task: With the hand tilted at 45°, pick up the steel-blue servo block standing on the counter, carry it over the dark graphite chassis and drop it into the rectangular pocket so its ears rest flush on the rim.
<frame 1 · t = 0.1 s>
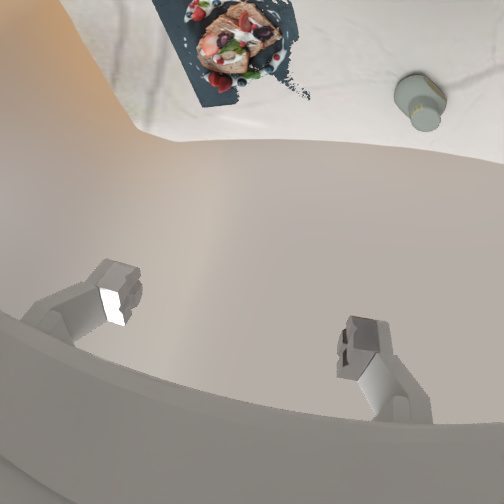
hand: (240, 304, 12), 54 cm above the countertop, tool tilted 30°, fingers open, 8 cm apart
air freshener: (418, 90, 52), on the countertop
platter: (233, 36, 53), on the countertop
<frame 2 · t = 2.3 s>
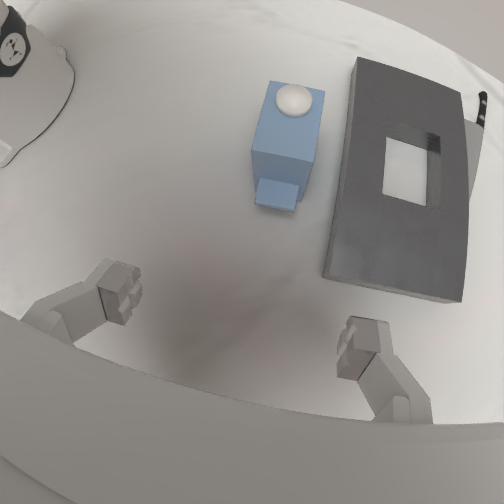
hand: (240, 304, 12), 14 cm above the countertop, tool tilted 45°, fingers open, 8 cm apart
chassis: (401, 175, 27), on the countertop
chef's knife: (468, 141, 28), on the countertop
servo: (284, 166, 28), on the countertop
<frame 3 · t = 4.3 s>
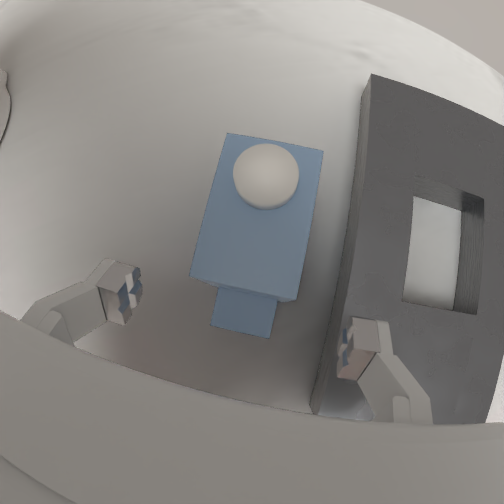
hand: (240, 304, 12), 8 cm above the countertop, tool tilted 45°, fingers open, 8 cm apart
chassis: (427, 253, 19), on the countertop
servo: (262, 247, 20), on the countertop
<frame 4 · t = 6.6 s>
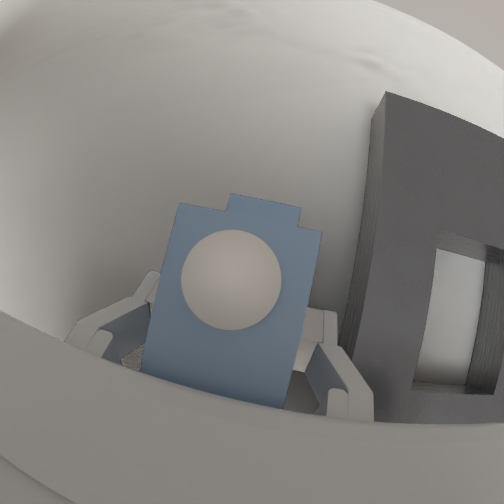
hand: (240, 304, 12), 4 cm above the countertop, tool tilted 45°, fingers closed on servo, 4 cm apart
chassis: (443, 317, 16), on the countertop
servo: (244, 317, 16), on the countertop, touching gripper
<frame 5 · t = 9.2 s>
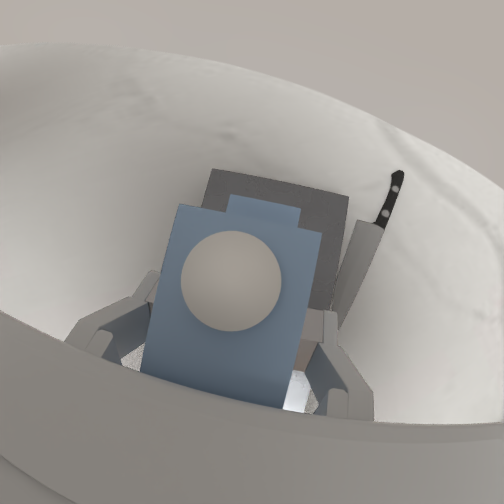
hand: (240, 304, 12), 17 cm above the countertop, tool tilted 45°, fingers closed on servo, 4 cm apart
chassis: (253, 310, 28), on the countertop
chef's knife: (358, 249, 29), on the countertop
servo: (244, 317, 16), point 12 cm above the countertop, touching gripper
when the fingers open (5 cm above the countertop, at t = 12.2 s): servo stays where it is, resting on chassis.
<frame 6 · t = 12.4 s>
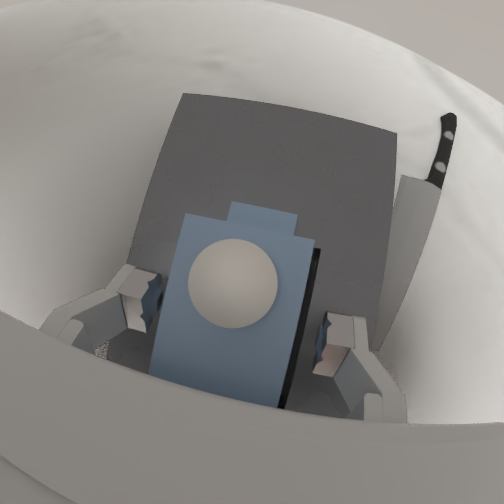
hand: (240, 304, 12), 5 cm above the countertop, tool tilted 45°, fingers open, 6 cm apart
chassis: (246, 316, 17), on the countertop
chef's knife: (405, 219, 18), on the countertop
servo: (244, 317, 17), resting on chassis
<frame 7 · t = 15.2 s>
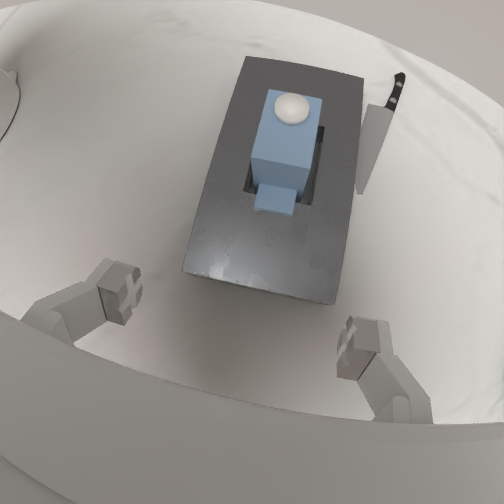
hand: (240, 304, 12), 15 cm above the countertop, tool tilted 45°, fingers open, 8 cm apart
chassis: (284, 171, 29), on the countertop
chef's knife: (372, 127, 30), on the countertop
servo: (283, 171, 29), resting on chassis
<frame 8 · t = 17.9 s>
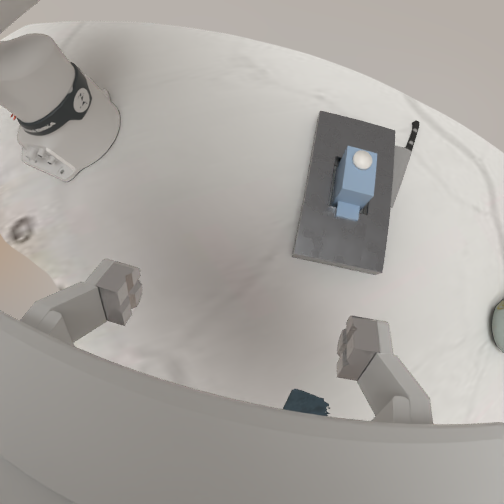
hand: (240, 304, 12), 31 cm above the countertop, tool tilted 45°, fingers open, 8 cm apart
chassis: (346, 192, 45), on the countertop
chef's knife: (397, 162, 46), on the countertop
platter: (356, 486, 38), on the countertop
servo: (346, 192, 45), resting on chassis
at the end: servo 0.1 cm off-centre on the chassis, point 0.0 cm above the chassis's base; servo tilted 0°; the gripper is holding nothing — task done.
